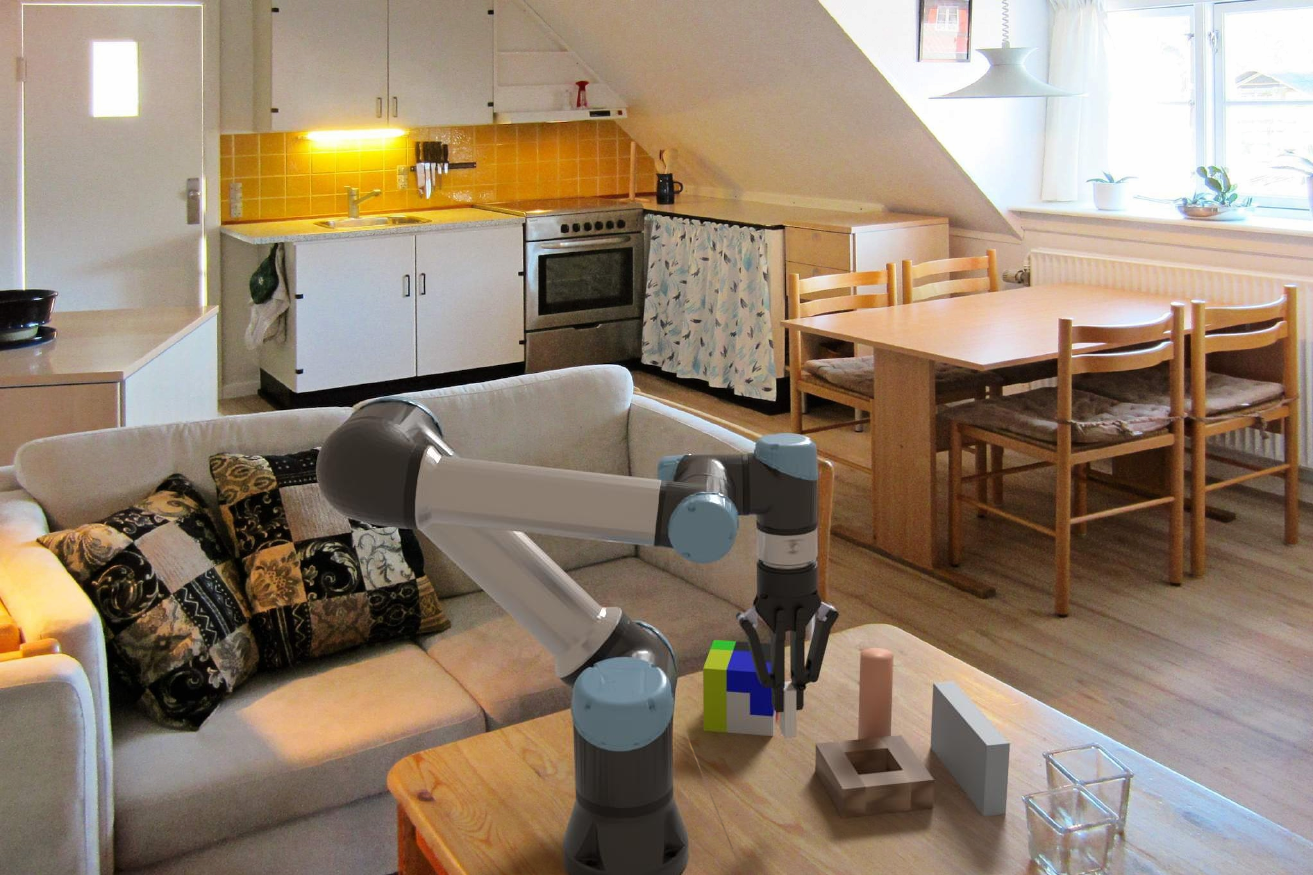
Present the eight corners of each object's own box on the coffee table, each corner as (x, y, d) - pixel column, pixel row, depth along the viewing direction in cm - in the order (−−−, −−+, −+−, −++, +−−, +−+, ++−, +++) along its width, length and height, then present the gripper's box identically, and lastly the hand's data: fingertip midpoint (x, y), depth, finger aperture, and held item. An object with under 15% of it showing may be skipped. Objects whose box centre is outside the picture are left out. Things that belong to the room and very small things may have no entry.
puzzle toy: (773, 737, 183) (773, 673, 181) (703, 732, 185) (703, 668, 183) (780, 706, 193) (780, 644, 190) (714, 701, 195) (714, 639, 192)
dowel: (863, 756, 178) (866, 662, 174) (853, 740, 182) (855, 649, 178) (895, 753, 178) (898, 659, 175) (884, 737, 183) (887, 646, 179)
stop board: (983, 817, 162) (987, 745, 160) (930, 748, 179) (933, 682, 177) (1005, 814, 163) (1010, 743, 160) (950, 746, 180) (953, 680, 177)
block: (842, 817, 162) (843, 789, 161) (815, 770, 174) (815, 743, 173) (932, 807, 164) (934, 779, 163) (900, 761, 176) (901, 735, 175)
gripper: (742, 574, 154) (745, 752, 160) (847, 564, 156) (845, 741, 162) (728, 553, 161) (731, 724, 167) (829, 544, 163) (828, 714, 169)
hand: (787, 732), depth 165 cm, fingers closed
